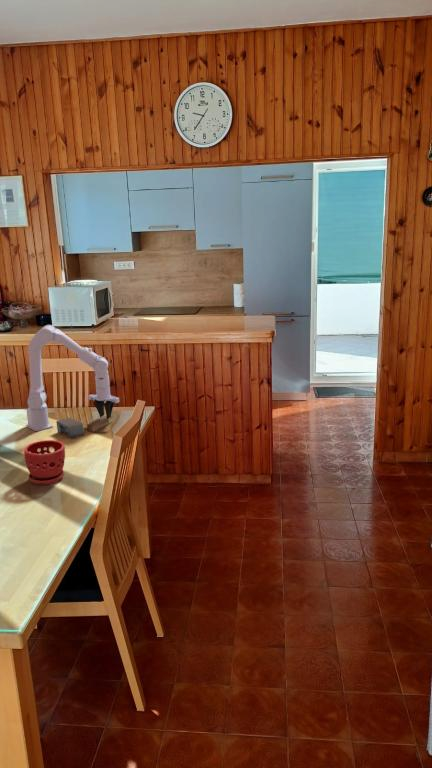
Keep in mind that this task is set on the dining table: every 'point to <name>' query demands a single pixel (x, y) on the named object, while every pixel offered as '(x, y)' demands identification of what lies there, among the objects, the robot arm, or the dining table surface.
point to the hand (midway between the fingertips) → (105, 417)
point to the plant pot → (45, 461)
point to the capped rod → (99, 423)
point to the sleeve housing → (70, 427)
